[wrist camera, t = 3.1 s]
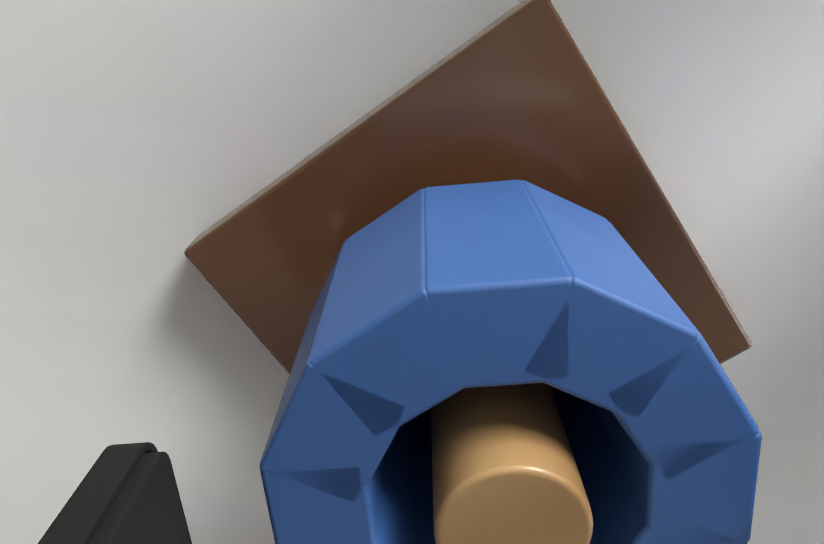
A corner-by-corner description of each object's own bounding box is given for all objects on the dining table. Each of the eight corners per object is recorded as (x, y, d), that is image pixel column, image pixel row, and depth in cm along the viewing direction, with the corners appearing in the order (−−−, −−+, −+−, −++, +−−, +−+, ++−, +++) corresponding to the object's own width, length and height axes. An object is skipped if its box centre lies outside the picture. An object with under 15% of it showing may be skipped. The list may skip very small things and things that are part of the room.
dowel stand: (195, 237, 16) (-7, 457, 8) (536, -11, 14) (672, -9, 6) (422, 501, 18) (423, 844, 11) (735, 327, 16) (994, 604, 9)
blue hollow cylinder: (245, 306, 13) (162, 455, 9) (537, 107, 12) (604, 173, 7) (438, 528, 15) (444, 736, 11) (709, 381, 14) (838, 555, 9)
